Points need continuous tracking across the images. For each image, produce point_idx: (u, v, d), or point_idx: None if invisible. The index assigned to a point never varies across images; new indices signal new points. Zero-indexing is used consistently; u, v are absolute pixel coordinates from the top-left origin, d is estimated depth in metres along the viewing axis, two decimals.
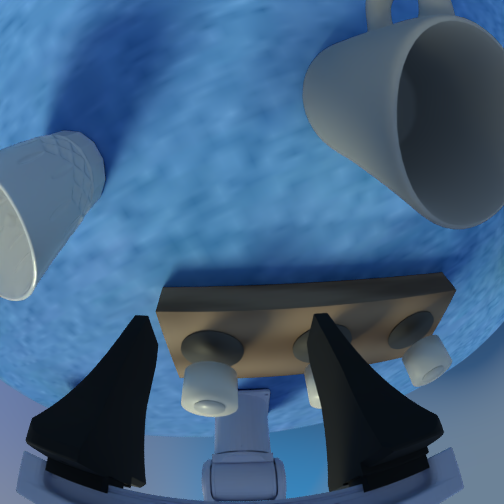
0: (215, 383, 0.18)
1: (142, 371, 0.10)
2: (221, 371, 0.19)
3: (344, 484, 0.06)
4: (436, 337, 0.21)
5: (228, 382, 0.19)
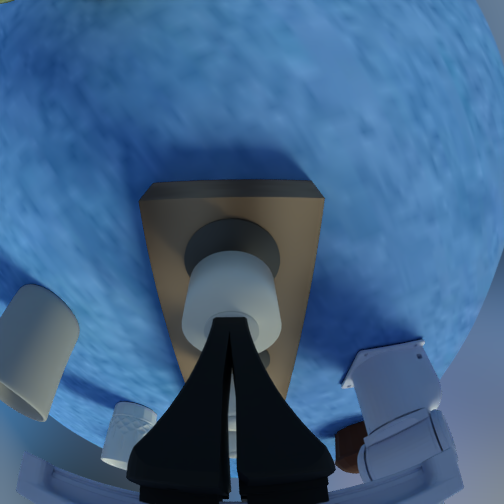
0: None
1: (228, 375, 0.10)
2: None
3: (242, 497, 0.06)
4: (190, 277, 0.14)
5: None
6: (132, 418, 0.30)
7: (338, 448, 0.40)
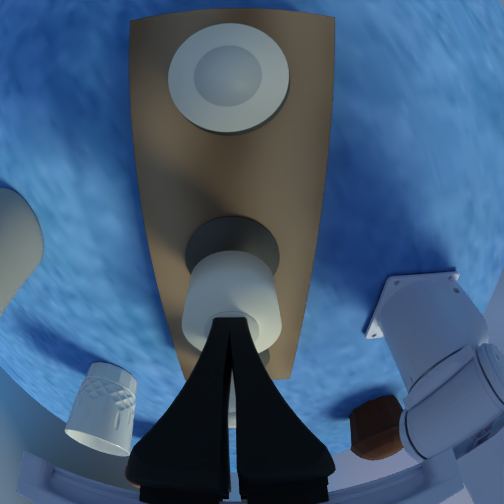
0: None
1: (228, 375, 0.10)
2: None
3: (242, 497, 0.06)
4: None
5: None
6: (105, 381, 0.25)
7: (354, 430, 0.35)
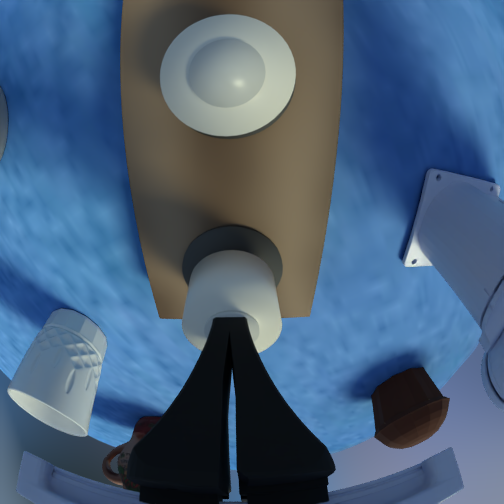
0: (185, 303, 0.12)
1: (228, 375, 0.10)
2: (191, 279, 0.13)
3: (242, 497, 0.06)
4: None
5: (196, 281, 0.12)
6: (62, 330, 0.19)
7: (379, 411, 0.29)
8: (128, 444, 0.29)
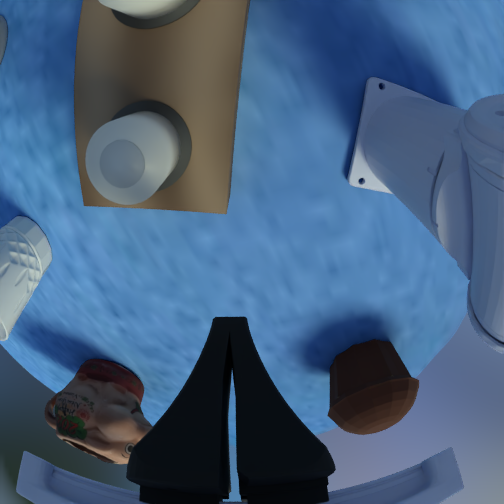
0: None
1: (228, 375, 0.10)
2: None
3: (242, 497, 0.06)
4: None
5: None
6: (11, 230, 0.17)
7: (335, 385, 0.28)
8: (68, 384, 0.28)
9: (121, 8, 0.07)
